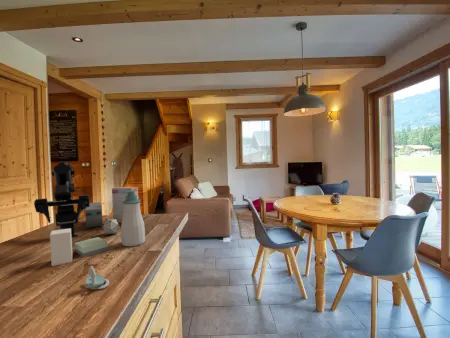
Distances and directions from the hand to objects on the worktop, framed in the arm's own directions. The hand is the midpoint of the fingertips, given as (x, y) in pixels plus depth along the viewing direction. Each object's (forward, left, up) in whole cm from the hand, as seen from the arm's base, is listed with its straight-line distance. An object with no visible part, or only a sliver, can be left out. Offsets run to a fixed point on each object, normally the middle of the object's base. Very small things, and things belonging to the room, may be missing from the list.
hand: (63, 220), depth 97 cm
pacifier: (+36, -9, -14) cm, 39 cm away
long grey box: (-33, +33, -13) cm, 48 cm away
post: (+7, -4, -13) cm, 15 cm away
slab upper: (+7, +7, -12) cm, 15 cm away
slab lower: (+7, +7, -14) cm, 17 cm away
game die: (-6, +25, -13) cm, 29 cm away
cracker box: (-18, +43, -13) cm, 48 cm away
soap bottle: (+15, +21, -13) cm, 29 cm away
